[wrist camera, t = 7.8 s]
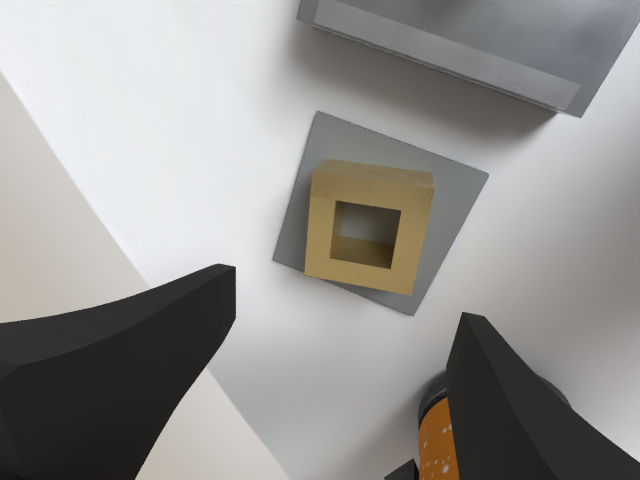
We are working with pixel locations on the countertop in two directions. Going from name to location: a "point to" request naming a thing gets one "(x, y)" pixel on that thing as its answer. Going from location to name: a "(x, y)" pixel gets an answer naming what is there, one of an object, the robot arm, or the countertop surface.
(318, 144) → the rubber mat
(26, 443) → the robot arm
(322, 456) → the countertop surface
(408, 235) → the brass square ring
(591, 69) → the block
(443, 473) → the canister
